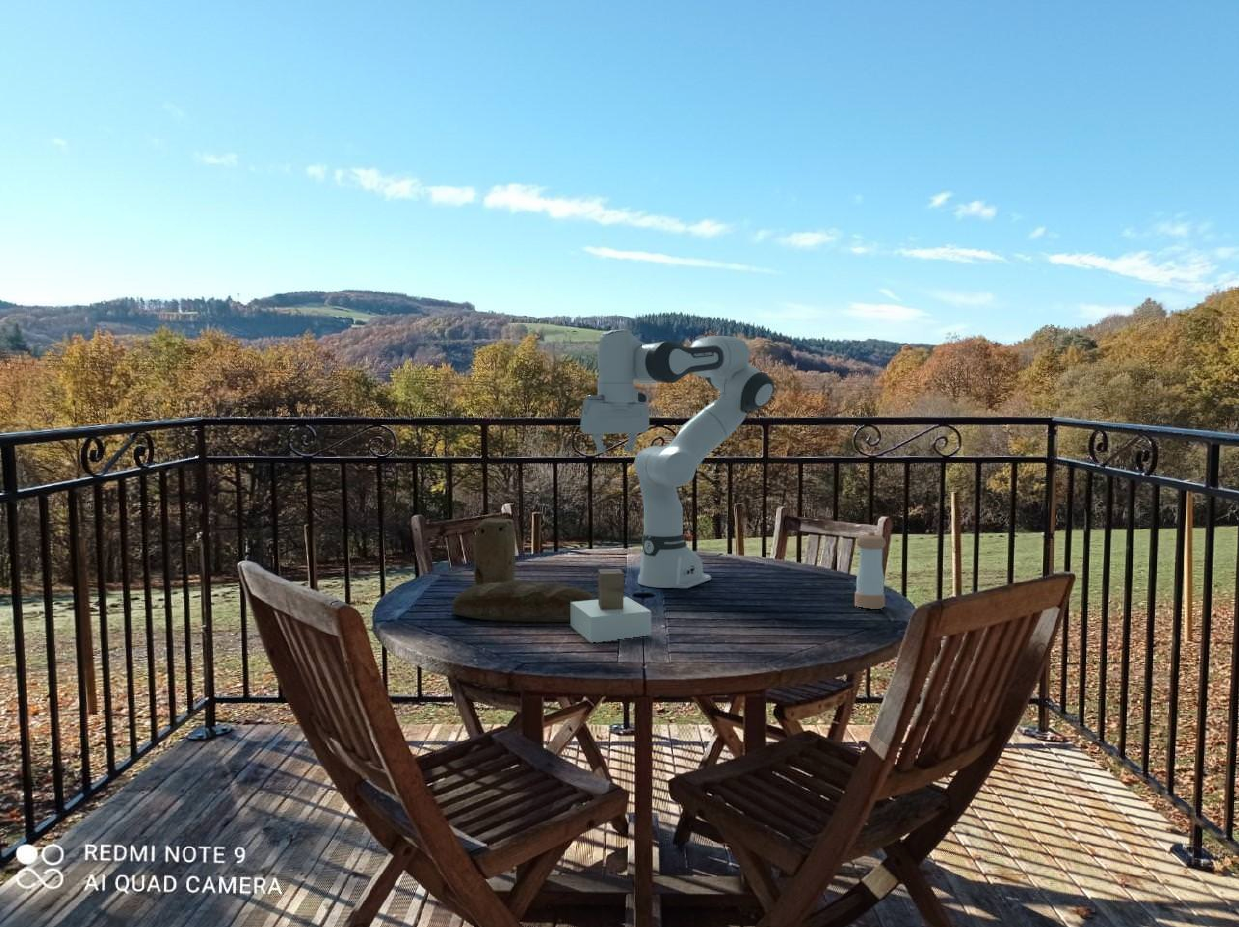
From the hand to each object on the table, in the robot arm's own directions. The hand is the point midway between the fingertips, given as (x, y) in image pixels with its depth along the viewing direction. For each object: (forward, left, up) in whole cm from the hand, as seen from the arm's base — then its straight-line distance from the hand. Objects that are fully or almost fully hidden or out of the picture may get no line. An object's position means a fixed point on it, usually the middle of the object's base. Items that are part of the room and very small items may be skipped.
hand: (615, 452), depth 193 cm
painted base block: (+14, +13, -40) cm, 44 cm away
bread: (+19, -11, -40) cm, 45 cm away
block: (+12, -35, -39) cm, 54 cm away
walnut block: (+14, +13, -34) cm, 39 cm away
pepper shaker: (-49, +42, -39) cm, 76 cm away
